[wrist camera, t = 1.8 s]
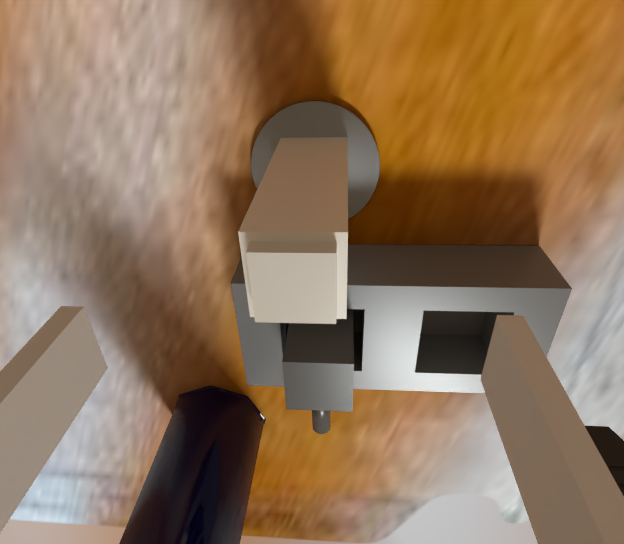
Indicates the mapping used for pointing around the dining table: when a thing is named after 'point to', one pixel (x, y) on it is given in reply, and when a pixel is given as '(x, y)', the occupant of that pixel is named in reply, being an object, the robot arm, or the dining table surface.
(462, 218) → the dining table surface
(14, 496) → the robot arm
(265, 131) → the coaster
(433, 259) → the strip
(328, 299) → the plug
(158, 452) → the bottle
